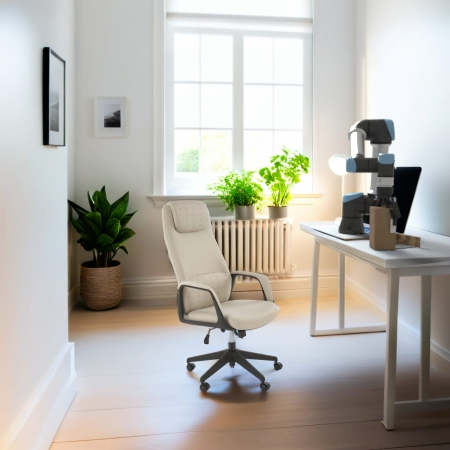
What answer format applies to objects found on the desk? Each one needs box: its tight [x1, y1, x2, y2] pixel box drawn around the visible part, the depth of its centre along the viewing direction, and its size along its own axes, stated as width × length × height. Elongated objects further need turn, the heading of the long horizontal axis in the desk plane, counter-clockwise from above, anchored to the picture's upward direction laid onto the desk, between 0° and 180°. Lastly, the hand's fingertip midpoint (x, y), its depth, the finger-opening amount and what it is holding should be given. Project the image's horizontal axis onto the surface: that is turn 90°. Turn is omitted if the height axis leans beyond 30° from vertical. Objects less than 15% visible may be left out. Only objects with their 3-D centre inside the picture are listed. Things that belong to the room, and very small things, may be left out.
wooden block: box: [368, 206, 397, 251], centre depth 239 cm, size 10×10×20 cm
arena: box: [395, 232, 421, 250], centre depth 248 cm, size 15×14×5 cm
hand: (382, 230), depth 240 cm, fingers closed on wooden block, 13 cm apart
